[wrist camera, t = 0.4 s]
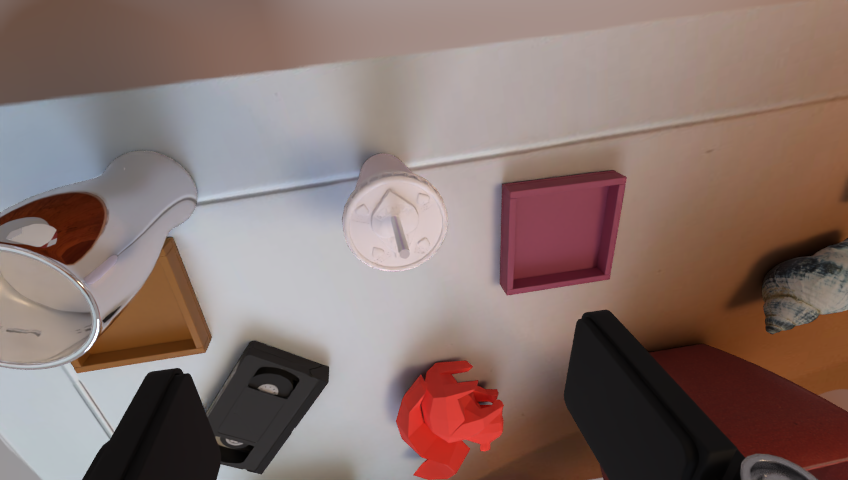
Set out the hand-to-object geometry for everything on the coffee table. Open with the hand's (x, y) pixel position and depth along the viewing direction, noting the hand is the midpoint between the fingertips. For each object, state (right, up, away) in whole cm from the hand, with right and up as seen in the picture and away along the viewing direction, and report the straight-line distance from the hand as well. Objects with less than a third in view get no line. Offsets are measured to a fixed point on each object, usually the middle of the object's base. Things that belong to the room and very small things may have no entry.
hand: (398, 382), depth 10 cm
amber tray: (-24, -1, +24) cm, 34 cm away
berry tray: (+13, +4, +28) cm, 31 cm away
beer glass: (-19, +7, +21) cm, 29 cm away
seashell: (+41, 0, +36) cm, 54 cm away
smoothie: (-3, +9, +23) cm, 25 cm away
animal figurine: (+3, -15, +37) cm, 40 cm away
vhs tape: (-16, -13, +32) cm, 38 cm away
